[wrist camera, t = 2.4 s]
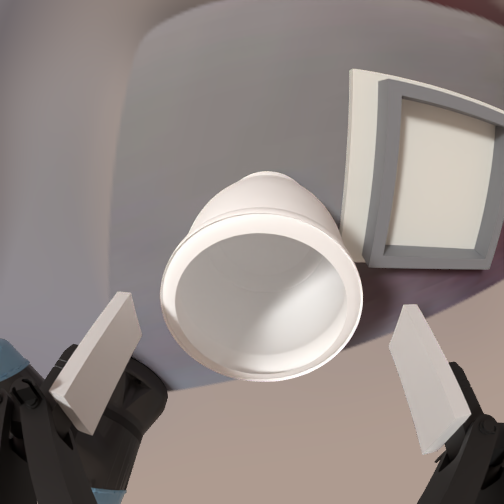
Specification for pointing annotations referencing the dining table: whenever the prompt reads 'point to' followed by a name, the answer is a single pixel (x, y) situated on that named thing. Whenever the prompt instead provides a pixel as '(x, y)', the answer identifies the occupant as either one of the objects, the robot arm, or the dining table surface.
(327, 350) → the jar
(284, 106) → the dining table surface
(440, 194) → the socket board
